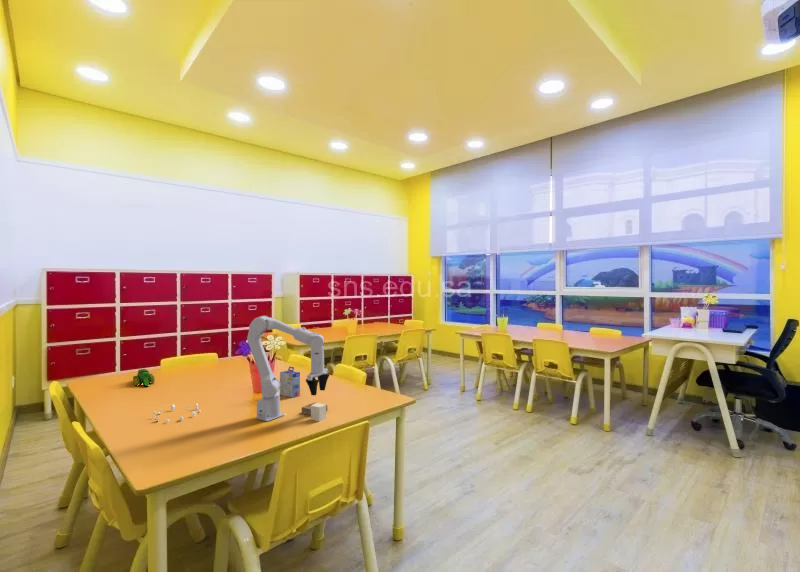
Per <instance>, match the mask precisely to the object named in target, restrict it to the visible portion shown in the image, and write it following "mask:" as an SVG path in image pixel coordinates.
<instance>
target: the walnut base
mask: <svg viewBox="0 0 800 572" xmlns="http://www.w3.org/2000/svg"><path fill="white" fill-rule="evenodd" d="M316 403H317V402H312V403H309V404H307V405H305V406H302V407H301V414H304V415H309V416H311V405H313V404H316ZM325 405H326V412H328V405H327V404H325Z"/></svg>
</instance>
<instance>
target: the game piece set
mask: <svg viewBox="0 0 800 572" xmlns="http://www.w3.org/2000/svg"><path fill="white" fill-rule="evenodd" d="M190 407H191V406H190V405H188V407H185V408H184V410H188V409H189V408H190ZM194 407H195V410H196V409H197V410H198V411H197V412H196V411H192V412H191V415H192V416H193V417H192V418H195V417H194V416H196V417H197V413H198V414H200V412H201V413H202V410H201V409H200V408H199V404H198V403H195V405H194ZM187 408H188V409H187ZM170 410H171V411H172V410H174V411H175V410H176V406H175V404H174V403H173V404H171V405H170ZM156 412H157V411H155V410H154V411H153V412H152V414H153V416H151V417H150V419H152V417H153V418H154V417H155V419H153V421H155V420H157V421H158V422H159V415H156ZM158 413H162V409H160V410H159V411H158V412H157V414H158ZM156 416H157V418H156ZM184 419H185V418H184V417H183V415H181V416H180V417H179V419H178V421H181V420H182V421H183V420H184ZM169 421H170V418H165V420H164V423H165V422H169Z"/></svg>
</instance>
